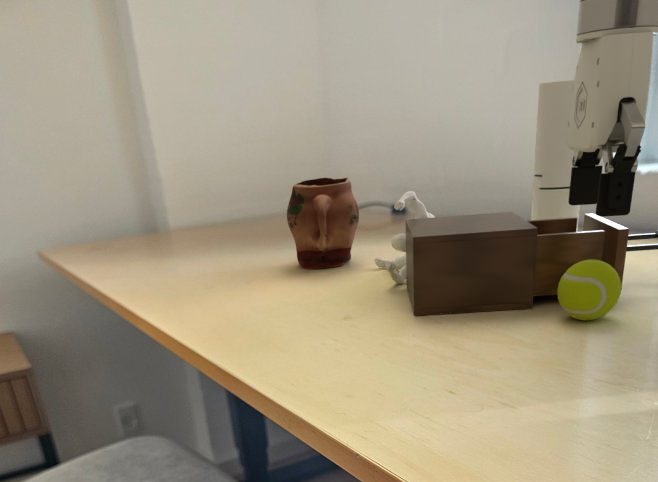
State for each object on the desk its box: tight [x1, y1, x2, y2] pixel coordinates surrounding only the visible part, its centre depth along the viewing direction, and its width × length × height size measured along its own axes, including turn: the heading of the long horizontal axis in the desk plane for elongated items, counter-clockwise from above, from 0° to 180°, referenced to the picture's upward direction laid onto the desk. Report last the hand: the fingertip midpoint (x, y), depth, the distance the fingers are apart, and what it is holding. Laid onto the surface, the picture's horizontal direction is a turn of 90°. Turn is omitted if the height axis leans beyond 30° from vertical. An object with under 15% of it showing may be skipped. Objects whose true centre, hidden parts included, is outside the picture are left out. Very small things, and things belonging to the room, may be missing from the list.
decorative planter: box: [286, 177, 360, 270], centre depth 112 cm, size 20×12×14 cm, turn 5°
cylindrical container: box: [530, 79, 581, 232], centre depth 101 cm, size 7×7×25 cm
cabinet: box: [405, 211, 538, 317], centre depth 86 cm, size 15×15×10 cm
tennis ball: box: [557, 260, 622, 321], centre depth 74 cm, size 7×7×7 cm
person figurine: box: [373, 190, 435, 285], centre depth 101 cm, size 13×13×18 cm
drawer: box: [526, 212, 658, 297], centre depth 85 cm, size 22×13×8 cm, turn 87°
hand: (596, 209), depth 70 cm, fingers open, 9 cm apart
